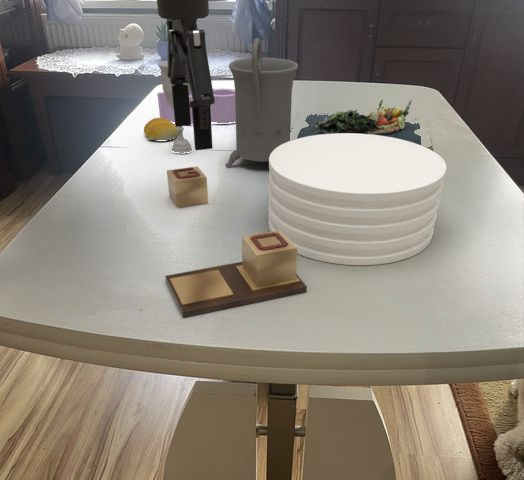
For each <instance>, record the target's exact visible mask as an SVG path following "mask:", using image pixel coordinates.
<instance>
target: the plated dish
mask: <svg viewBox="0 0 524 480" xmlns="http://www.w3.org/2000/svg"><path fill="white" fill-rule="evenodd" d="M383 101H384V99H383V98H382V99H381V100H380V102H379V103H378V106H379V107H377V108H376V109H375V110H374V111H372V112H370V113H369V114H367V115H365V114H360V113H359V111H358V109H355V110H353V109H349V110H346V111H343V110H341V111H337V112H335V113H331V114H332V115H331V116H330V115H329V116H328V114H329V113H323V114H324V115H318V116H317V114H315V115H312V114H311V115H309V116H307V118H306V120H305V121H306V122H307V123H308V124H309V126H308V127H305V128H302V129H301V130H300V132H299V134H298V137H297V139H298V138H302V137H307V136H313V135H321V134H335V133H357V134H371V135H380V136H386V137H392V138H397V139H402V140H406V141H409V142H413V143H416V144H418V145H421V136H419V135H417V134H415V133H414V131H415V130H417V129H420V125H419V123H417V124H416V123H415V124H411V123H409V122H405V120H406V119H405V118H406V117H407V116H408V115H409V113H410V109H411V105H412V101H413V100H412V99H410V101H409V102H408V105H406V107H405V109H404V110H403V108H402V107H401V106H399V107H398V108H395V106H387V107H385V106H382V104H383ZM357 111H358V112H357ZM325 114H327V115H325ZM432 147H433V148H432ZM426 148H428V149H430V150H432V151H434V152H435V150H434V145H433V146H430V147H426Z"/></svg>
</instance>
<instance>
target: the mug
mask: <svg viewBox="0 0 524 480" xmlns="http://www.w3.org/2000/svg"><path fill="white" fill-rule="evenodd" d="M251 48H252V49H251V57H248V58H247V57H246V58H240V59H235V60H233V61H231V62H230V63H229V64H228V68H229V70H230V72H231V75H232V78H233V83H234V90H235V108H236V123H235V146H236V149H235V150H233V151H232V152H231V153H230V155H229V158H228V162H227V163H225V167H226V168H230V167H232V166H233V165H234V163H235V162H236V161H238V160H240V159H244V160H248V161H251V162H252V161H253V162H269V157H270V154H271V153H272V151H273V150H274V149H276V148H277V147H278V146H280V145H282V144H284V143H286V142H289V141H290V131H291V129H292V126H291V124H292V97H293V85H294V79H295V76H296V73H297V71H298V69H299V64H298V62H296V61H293V60H290V59H286V58H277V57H263V45H262V40H261V39H260V38H259V37H256V38H254V39H253V43H252V47H251Z"/></svg>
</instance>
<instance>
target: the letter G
mask: <svg viewBox="0 0 524 480" xmlns="http://www.w3.org/2000/svg"><path fill="white" fill-rule="evenodd" d="M166 178H167V187H168V188H167V189H168V196H169V197H170V199H171V201H172V202H173V204H174V206H175V207H176V208H177V209H178V208H187V207H193V206H200V205H205V204H206V205H207V204H209V191H208V177H207V176H206V175H205V173H204V172H203V171H202V170H201V168H199V166H189V167H182V168H174V169H167V170H166Z"/></svg>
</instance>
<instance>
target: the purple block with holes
mask: <svg viewBox="0 0 524 480" xmlns="http://www.w3.org/2000/svg"><path fill="white" fill-rule="evenodd" d="M213 94H214V99H215V103H214V104H211V106H210V110H211V122H217V123H229V122H234V121H236V108H235V89H234V88H213ZM157 101H158V112H159V118H164V119H168V120H170V121H172V122H175V117H174V110H173V109H172V108H171V106H170V104H169V102H168V100H167V98H166V96H165V94H164V91H161V92H160V91H159V92H157ZM190 101H193V98H192V94H191V90H190V94H189V103H190ZM190 117H191V124H193V116H192V108H190Z"/></svg>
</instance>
